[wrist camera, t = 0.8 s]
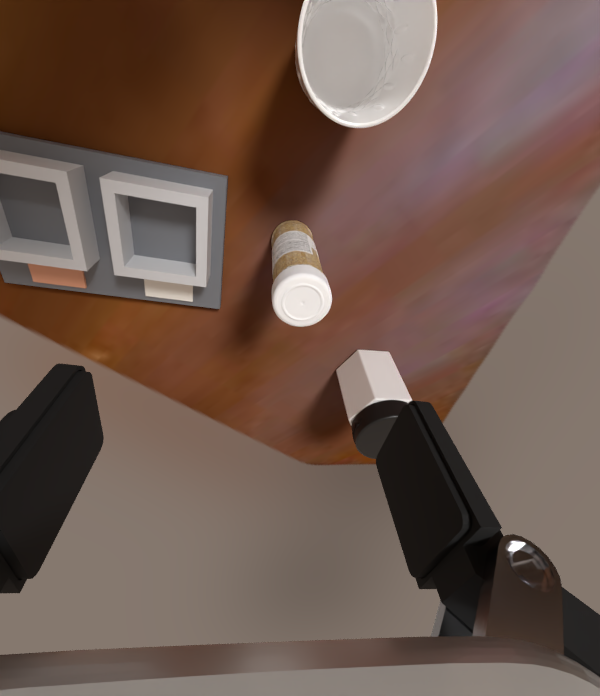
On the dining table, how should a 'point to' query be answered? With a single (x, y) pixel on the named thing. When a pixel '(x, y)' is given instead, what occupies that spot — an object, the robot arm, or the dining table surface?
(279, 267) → the sprinkles bottle
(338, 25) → the white cup
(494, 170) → the dining table surface
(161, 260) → the socket board
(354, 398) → the jar
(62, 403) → the robot arm
